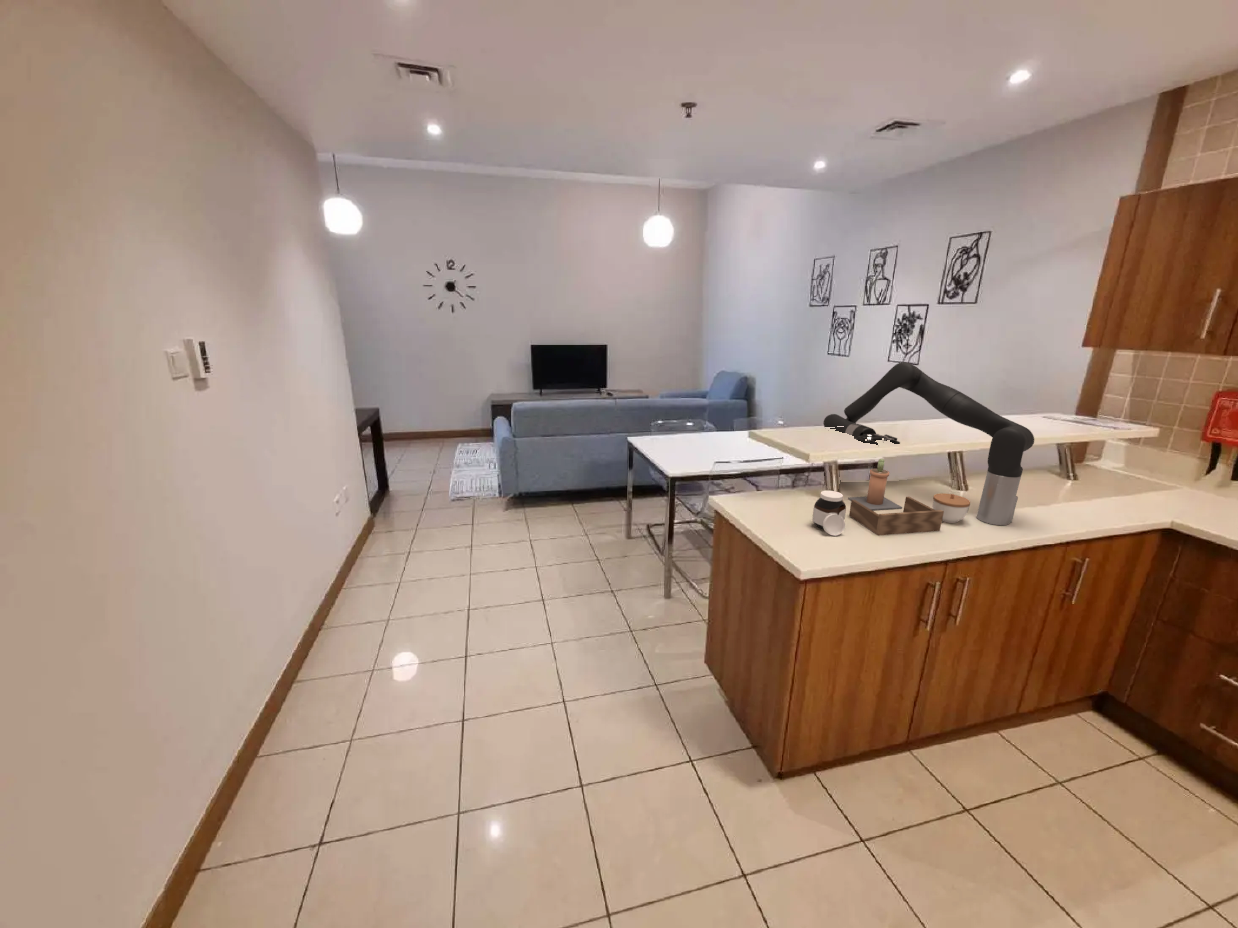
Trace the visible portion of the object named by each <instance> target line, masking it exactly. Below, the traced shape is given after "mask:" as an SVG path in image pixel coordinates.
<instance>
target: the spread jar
mask: <svg viewBox="0 0 1238 928" xmlns="http://www.w3.org/2000/svg"><path fill="white" fill-rule="evenodd" d="M843 497H844V494H842V493H841V492H839V491H835V490H821V492H820V496H819V498H818V499H817V500H816V501H815V503H814V505H813V508H812V509H813V511H812V516H811V517H812V519H811V520H812V522H813V523H814V525H815V526H816V527H817V528H819V529H822V530H824V532H825V533H826V534H828V535H831V536H833V537H835V536H836V537H837V536H840V535H841V534H842V533H843V532H844V531H845V529H846V521H845V519H846V513H847V506H846V503H845V502H844V501H843Z"/></svg>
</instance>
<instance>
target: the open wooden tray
mask: <svg viewBox="0 0 1238 928" xmlns="http://www.w3.org/2000/svg"><path fill="white" fill-rule="evenodd" d="M943 514H944V511H942V510H934V509H933V507H930V506H928V505H926V504H924V503H923V502H920V501H918V500H917V499H914V497H913V498H912V497H911V496H905V499H904V505H903V511H902V512H901V511H900V512H891V513H890V512H888V513H877V512H875V511H872V510H871V509H869V508H867V507H866V506H864V505H862V504H861V503H859V502H857V501H856V500H850V507H849V514H848V516H849V517H850V518H851V519H854V521H856V522H858V524H861V525H862V526H863V527H865V528H867V529H868V530H870V531H871V532H872V533H874V534H875V535H876V536H884V535H885V536H889V535H901V534H914V533H917V534H918V533H926V532H927V533H928V532H929V533H930V532H940V531H941V526H942V522H943V521H942V518H943Z"/></svg>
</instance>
